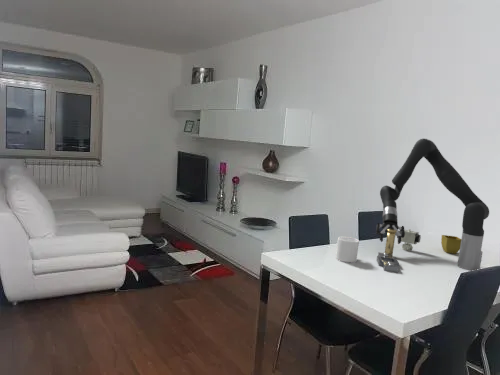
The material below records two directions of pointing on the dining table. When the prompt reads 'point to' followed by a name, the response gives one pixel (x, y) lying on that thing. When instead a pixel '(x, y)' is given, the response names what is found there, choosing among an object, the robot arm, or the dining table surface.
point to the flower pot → (450, 244)
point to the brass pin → (390, 241)
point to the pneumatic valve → (410, 239)
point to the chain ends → (388, 262)
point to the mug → (347, 249)
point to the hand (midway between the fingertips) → (390, 242)
